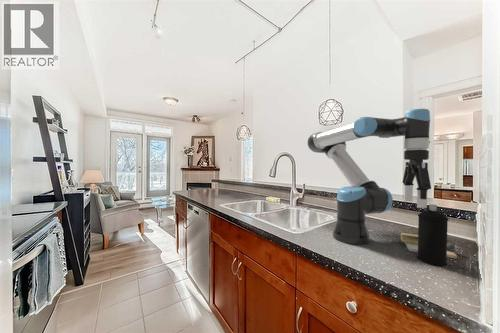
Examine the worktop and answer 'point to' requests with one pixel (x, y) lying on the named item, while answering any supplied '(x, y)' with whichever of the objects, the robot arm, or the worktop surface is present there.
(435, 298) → the worktop surface
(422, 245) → the aerosol can
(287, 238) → the worktop surface
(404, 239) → the brass swing stop
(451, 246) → the door leaf
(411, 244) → the jamb plate
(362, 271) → the worktop surface
